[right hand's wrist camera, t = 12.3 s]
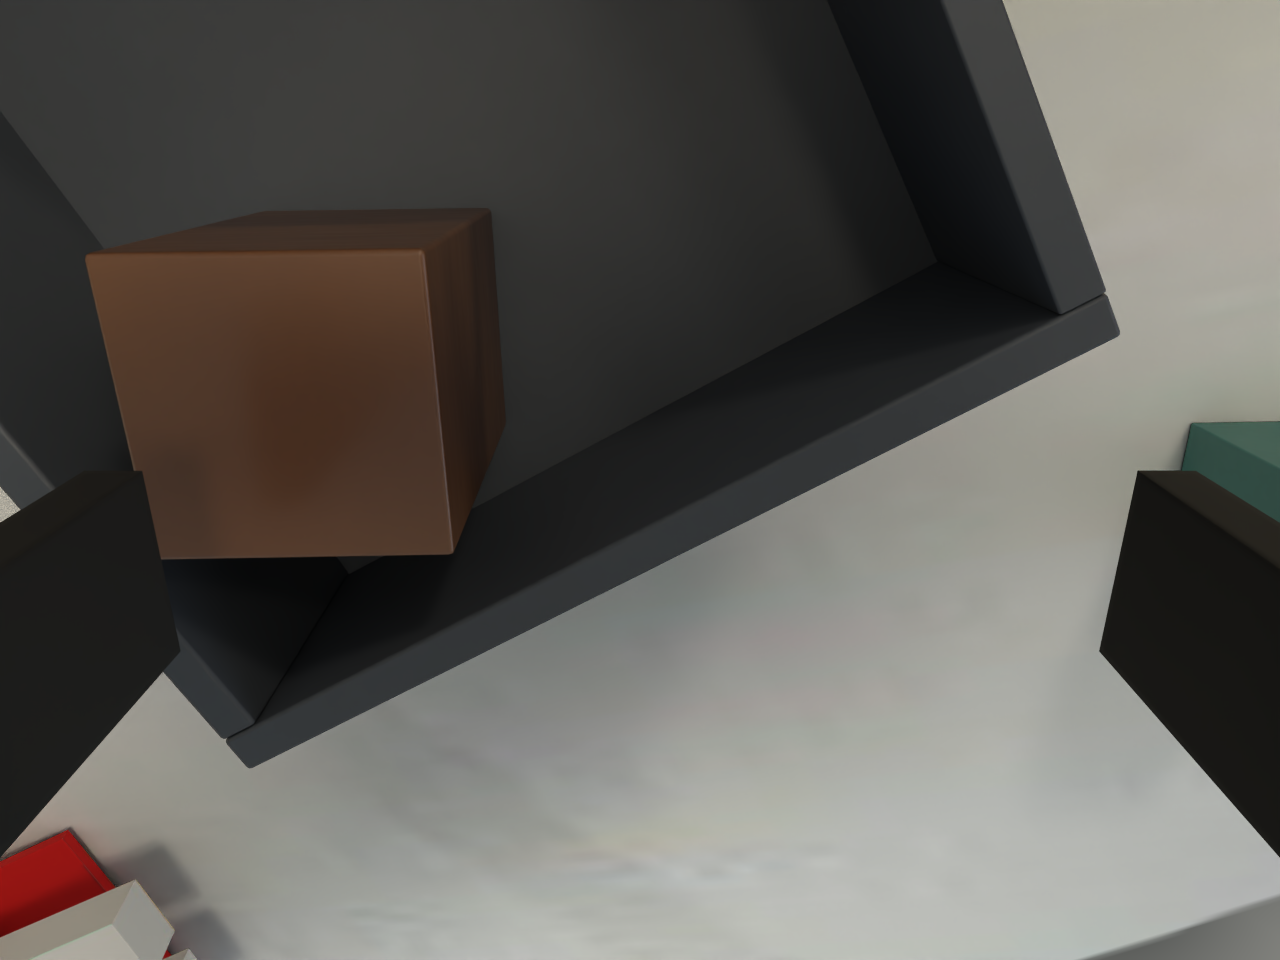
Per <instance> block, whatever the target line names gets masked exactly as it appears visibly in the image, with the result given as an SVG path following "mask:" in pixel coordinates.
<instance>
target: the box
mask: <svg viewBox="0 0 1280 960" xmlns="http://www.w3.org/2000/svg"><path fill="white" fill-rule="evenodd" d="M442 208H488V209H490V211H491V217H492V232H493V246H494V260H495V274H496V289H497V303H498V317H499V331H500V346H501V360H502V374H503V388H504V403H505V417H506V425H505V427H504V430H503V432H502V435H501V437H500V440H499V442H498V445H497V447H496V449H495V452H494V454H493V457H492V459H491V462H490V464H489V467H488V469H487V472H486V474H485V477H484V479H483V481H482V484H481V486H480V489H479V491H478V494H477V496H476V499H475V501H474V504H473V506H472V509H471V511H470V513H469V516H468V518H467V521H466V523H465V526H464V528H463V531H462V533H461V536H460V538H459V541H458V543H457V545H456V548H455V550H454V553H452V554H449V555H392V556H334V557H276V558H218V559H161V561H162V566H163V571H164V575H165V580H166V585H167V589H168V594H169V599H170V603H171V608H172V613H173V617H174V622H175V627H176V631H177V636H178V641H179V646H180V650H181V651H180V653H179V654H178V655H177V656H176V657H175V658H174V659H173V661H172V662H171V663H170V664H169V665H168V666H167V667H166V669H165V670H164V671H163V672H164V673H165V674H166V676H167V677H168V678H169V679H170V680H171V681H172V682H173V683H174V685H175V686H176V687H177V688H178V689H179V690H180V691H181V693H182V694H183V695H184V696H185V697H186V698H187V699H188V701H189V702H190V703H191V704H192V705H193V706H194V707H195V709H196V710H197V711H198V712H199V713H200V714H201V715H202V716H203V718H204V719H205V720H206V721H207V722H208V723H209V724H210V726H211V727H212V728H213V729H214V730H215V731H216V732H217V734H218V735H219V736H220V737H221V738H223V739H225V738H227V739H226V743H227V745H228V746H229V747H230V748H231V749H232V750H233V752H234V753H235V754H236V755H237V756H238V757H239V758H240V760H241V761H242V762H243V763H244V764H245V765H246V766H247V767H248V768H253V767H255V766H257V765H259V764H261V763H263V762H265V761H267V760H269V759H271V758H273V757H275V756H277V755H279V754H281V753H283V752H285V751H287V750H289V749H291V748H293V747H295V746H297V745H299V744H301V743H303V742H305V741H307V740H309V739H311V738H313V737H315V736H317V735H319V734H321V733H323V732H325V731H327V730H329V729H331V728H333V727H335V726H337V725H339V724H341V723H343V722H345V721H347V720H349V719H351V718H353V717H355V716H357V715H359V714H361V713H363V712H365V711H367V710H369V709H371V708H373V707H375V706H377V705H379V704H381V703H383V702H385V701H387V700H389V699H391V698H393V697H395V696H397V695H399V694H401V693H403V692H405V691H407V690H409V689H411V688H413V687H415V686H417V685H419V684H421V683H423V682H426V681H428V680H430V679H432V678H434V677H436V676H438V675H440V674H442V673H444V672H446V671H448V670H450V669H452V668H454V667H456V666H458V665H460V664H462V663H464V662H466V661H468V660H470V659H472V658H474V657H476V656H478V655H480V654H482V653H484V652H486V651H488V650H490V649H492V648H494V647H496V646H498V645H500V644H502V643H504V642H506V641H508V640H510V639H512V638H514V637H516V636H518V635H520V634H522V633H524V632H526V631H528V630H530V629H532V628H534V627H536V626H538V625H540V624H542V623H544V622H546V621H548V620H550V619H552V618H554V617H556V616H558V615H560V614H562V613H564V612H566V611H568V610H570V609H572V608H574V607H576V606H578V605H580V604H582V603H584V602H586V601H588V600H590V599H592V598H594V597H596V596H598V595H600V594H602V593H604V592H606V591H608V590H610V589H612V588H614V587H616V586H618V585H620V584H622V583H624V582H626V581H628V580H630V579H632V578H634V577H636V576H638V575H640V574H642V573H644V572H646V571H648V570H650V569H652V568H654V567H656V566H658V565H660V564H662V563H664V562H666V561H668V560H670V559H672V558H674V557H676V556H678V555H680V554H682V553H684V552H686V551H688V550H690V549H692V548H694V547H696V546H698V545H700V544H702V543H704V542H706V541H708V540H710V539H712V538H714V537H716V536H718V535H720V534H722V533H724V532H726V531H728V530H730V529H732V528H735V527H737V526H739V525H741V524H743V523H745V522H747V521H749V520H751V519H753V518H755V517H757V516H759V515H761V514H763V513H765V512H767V511H769V510H771V509H773V508H775V507H777V506H779V505H781V504H783V503H785V502H787V501H789V500H791V499H793V498H795V497H797V496H799V495H801V494H803V493H805V492H807V491H809V490H811V489H813V488H815V487H817V486H819V485H821V484H823V483H825V482H827V481H829V480H831V479H833V478H835V477H837V476H839V475H841V474H843V473H845V472H847V471H849V470H851V469H853V468H855V467H857V466H859V465H861V464H863V463H865V462H867V461H869V460H871V459H873V458H875V457H877V456H879V455H881V454H883V453H885V452H887V451H889V450H891V449H893V448H895V447H897V446H899V445H901V444H903V443H905V442H907V441H909V440H911V439H913V438H915V437H917V436H919V435H921V434H923V433H925V432H927V431H929V430H931V429H933V428H935V427H937V426H939V425H941V424H943V423H945V422H947V421H949V420H951V419H953V418H955V417H957V416H959V415H961V414H963V413H965V412H967V411H969V410H971V409H973V408H975V407H977V406H979V405H981V404H983V403H985V402H987V401H989V400H991V399H993V398H995V397H997V396H999V395H1001V394H1003V393H1005V392H1007V391H1009V390H1011V389H1013V388H1015V387H1017V386H1019V385H1021V384H1023V383H1025V382H1027V381H1029V380H1031V379H1033V378H1035V377H1037V376H1039V375H1041V374H1043V373H1046V372H1048V371H1050V370H1052V369H1054V368H1056V367H1058V366H1060V365H1062V364H1064V363H1066V362H1068V361H1070V360H1072V359H1074V358H1076V357H1078V356H1080V355H1082V354H1084V353H1086V352H1088V351H1090V350H1092V349H1094V348H1096V347H1098V346H1100V345H1102V344H1104V343H1106V342H1108V341H1110V340H1112V339H1114V338H1116V337H1117V336H1119V335H1120V330H1119V327H1118V325H1117V322H1116V319H1115V316H1114V313H1113V311H1112V308H1111V305H1110V302H1109V299H1108V297H1107V296H1106V295H1105V294H1104V292H1105V291H1106V289H1105V286H1104V283H1103V280H1102V278H1101V275H1100V272H1099V269H1098V266H1097V264H1096V261H1095V258H1094V255H1093V252H1092V250H1091V247H1090V244H1089V241H1088V239H1087V236H1086V233H1085V230H1084V227H1083V225H1082V222H1081V219H1080V216H1079V213H1078V211H1077V208H1076V205H1075V202H1074V199H1073V197H1072V194H1071V191H1070V188H1069V185H1068V183H1067V180H1066V177H1065V174H1064V172H1063V169H1062V166H1061V163H1060V160H1059V158H1058V155H1057V152H1056V149H1055V146H1054V144H1053V141H1052V138H1051V135H1050V132H1049V130H1048V127H1047V124H1046V121H1045V118H1044V116H1043V113H1042V110H1041V107H1040V105H1039V102H1038V99H1037V96H1036V93H1035V91H1034V88H1033V85H1032V82H1031V79H1030V77H1029V74H1028V71H1027V68H1026V65H1025V63H1024V60H1023V57H1022V54H1021V51H1020V49H1019V46H1018V43H1017V40H1016V38H1015V35H1014V32H1013V29H1012V26H1011V24H1010V21H1009V18H1008V15H1007V12H1006V10H1005V7H1004V4H1003V1H1002V0H0V487H1V488H2V489H3V490H4V491H5V492H6V494H7V495H8V496H9V497H10V498H11V499H12V500H13V502H14V503H15V504H16V505H17V506H18V507H19V508H20V510H22V509H23V508H25V507H26V506H28V505H30V504H31V503H33V502H34V501H36V500H38V499H39V498H41V497H43V496H44V495H46V494H47V493H49V492H51V491H52V490H54V489H55V488H57V487H59V486H60V485H62V484H64V483H65V482H67V481H68V480H70V479H72V478H73V477H75V476H76V475H78V474H80V473H81V472H83V471H134V469H133V465H132V461H131V456H130V452H129V448H128V444H127V439H126V435H125V431H124V426H123V422H122V418H121V413H120V409H119V405H118V401H117V396H116V392H115V388H114V383H113V379H112V375H111V370H110V366H109V362H108V357H107V353H106V349H105V345H104V340H103V336H102V332H101V327H100V323H99V319H98V314H97V310H96V306H95V301H94V297H93V293H92V289H91V284H90V280H89V276H88V271H87V267H86V263H85V256H86V255H87V254H89V253H91V252H95V251H99V250H103V249H107V248H112V247H116V246H120V245H124V244H128V243H132V242H137V241H141V240H145V239H149V238H153V237H158V236H162V235H166V234H170V233H174V232H179V231H183V230H187V229H191V228H195V227H199V226H204V225H208V224H212V223H216V222H220V221H225V220H229V219H233V218H237V217H241V216H246V215H250V214H254V213H258V212H262V211H303V210H373V209H442Z"/></svg>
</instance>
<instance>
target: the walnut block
mask: <svg viewBox="0 0 1280 960" xmlns="http://www.w3.org/2000/svg"><path fill="white" fill-rule="evenodd" d="M85 263H86V267H87V271H88V276H89V280H90V284H91V289H92V293H93V297H94V301H95V306H96V310H97V314H98V319H99V323H100V327H101V332H102V336H103V340H104V345H105V349H106V353H107V357H108V362H109V366H110V370H111V375H112V379H113V383H114V388H115V392H116V396H117V401H118V405H119V409H120V413H121V418H122V422H123V426H124V431H125V435H126V439H127V444H128V448H129V452H130V456H131V461H132V465H133V469H134V471H142V472H143V477H144V481H145V486H146V491H147V495H148V500H149V505H150V510H151V514H152V519H153V524H154V528H155V533H156V538H157V542H158V547H159V552H160V556H161V559H218V558H276V557H334V556H392V555H449V554H452V553H454V550H455V548H456V545H457V543H458V541H459V538H460V536H461V533H462V531H463V528H464V526H465V523H466V521H467V518H468V516H469V513H470V511H471V509H472V506H473V504H474V501H475V499H476V496H477V494H478V491H479V489H480V486H481V484H482V481H483V479H484V477H485V474H486V472H487V469H488V467H489V464H490V462H491V459H492V457H493V454H494V452H495V449H496V447H497V445H498V442H499V440H500V437H501V435H502V432H503V430H504V427H505V425H506V417H505V403H504V388H503V374H502V360H501V346H500V331H499V317H498V303H497V289H496V274H495V260H494V246H493V232H492V217H491V211H490V209H488V208H442V209H373V210H303V211H262V212H258V213H254V214H250V215H246V216H241V217H237V218H233V219H229V220H225V221H220V222H216V223H212V224H208V225H204V226H199V227H195V228H191V229H187V230H183V231H179V232H174V233H170V234H166V235H162V236H158V237H153V238H149V239H145V240H141V241H137V242H132V243H128V244H124V245H120V246H116V247H112V248H107V249H103V250H99V251H95V252H91V253H89V254H87V255H86V256H85Z"/></svg>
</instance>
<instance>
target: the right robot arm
mask: <svg viewBox="0 0 1280 960" xmlns="http://www.w3.org/2000/svg"><path fill="white" fill-rule="evenodd" d="M180 651H181V650H180V646H179V641H178V636H177V631H176V627H175V622H174V617H173V613H172V608H171V603H170V599H169V594H168V589H167V585H166V580H165V575H164V571H163V566H162V561H161V556H160V552H159V547H158V542H157V538H156V533H155V528H154V524H153V519H152V514H151V510H150V505H149V500H148V495H147V491H146V486H145V481H144V477H143V472H142V471H83V472H81V473H80V474H78V475H76V476H75V477H73V478H72V479H70V480H68V481H67V482H65V483H64V484H62V485H60V486H59V487H57V488H55V489H54V490H52V491H51V492H49V493H47V494H46V495H44V496H43V497H41V498H39V499H38V500H36V501H34V502H33V503H31V504H30V505H28V506H26V507H25V508H23V509H22V510H20V511H18V512H17V513H15V514H13V515H12V516H10V517H9V518H7V519H5V520H4V521H2V522H1V523H0V857H1V856H2V855H3V854H4V853H5V851H6V850H7V849H8V848H9V847H10V846H11V845H12V843H13V842H14V841H15V840H16V839H17V838H18V837H19V835H20V834H21V833H22V832H23V831H24V830H25V829H26V827H27V826H28V825H29V824H30V823H31V822H32V821H33V819H34V818H35V817H36V816H37V815H38V814H39V813H40V811H41V810H42V809H43V808H44V807H45V806H46V805H47V803H48V802H49V801H50V800H51V799H52V798H53V797H54V795H55V794H56V793H57V792H58V791H59V790H60V789H61V787H62V786H63V785H64V784H65V783H66V782H67V781H68V779H69V778H70V777H71V776H72V775H73V774H74V773H75V771H76V770H77V769H78V768H79V767H80V766H81V765H82V763H83V762H84V761H85V760H86V759H87V758H88V757H89V755H90V754H91V753H92V752H93V751H94V750H95V749H96V747H97V746H98V745H99V744H100V743H101V742H102V741H103V739H104V738H105V737H106V736H107V735H108V734H109V733H110V731H111V730H112V729H113V728H114V727H115V726H116V725H117V723H118V722H119V721H120V720H121V719H122V718H123V717H124V715H125V714H126V713H127V712H128V711H129V710H130V709H131V707H132V706H133V705H134V704H135V703H136V702H137V701H138V699H139V698H140V697H141V696H142V695H143V694H144V693H145V691H146V690H147V689H148V688H149V687H150V686H151V685H152V683H153V682H154V681H155V680H156V679H157V678H158V677H159V675H160V674H161V673H162V672H163V671H164V670H165V669H166V667H167V666H168V665H169V664H170V663H171V662H172V661H173V659H174V658H175V657H176V656H177V655H178V654H179V653H180ZM1099 651H1100V653H1101V654H1102V655H1103V656H1104V657H1105V658H1106V659H1107V661H1108V662H1109V663H1110V664H1111V665H1112V666H1113V667H1114V669H1115V670H1116V671H1117V672H1118V673H1119V674H1120V675H1121V677H1122V678H1123V679H1124V680H1125V681H1126V682H1127V683H1128V685H1129V686H1130V687H1131V688H1132V689H1133V690H1134V691H1135V693H1136V694H1137V695H1138V696H1139V697H1140V698H1141V699H1142V701H1143V702H1144V703H1145V704H1146V705H1147V706H1148V707H1149V709H1150V710H1151V711H1152V712H1153V713H1154V714H1155V715H1156V717H1157V718H1158V719H1159V720H1160V721H1161V722H1162V723H1163V725H1164V726H1165V727H1166V728H1167V729H1168V730H1169V731H1170V733H1171V734H1172V735H1173V736H1174V737H1175V738H1176V739H1177V741H1178V742H1179V743H1180V744H1181V745H1182V746H1183V747H1184V749H1185V750H1186V751H1187V752H1188V753H1189V754H1190V755H1191V757H1192V758H1193V759H1194V760H1195V761H1196V762H1197V763H1198V765H1199V766H1200V767H1201V768H1202V769H1203V770H1204V771H1205V773H1206V774H1207V775H1208V776H1209V777H1210V778H1211V779H1212V781H1213V782H1214V783H1215V784H1216V785H1217V786H1218V787H1219V789H1220V790H1221V791H1222V792H1223V793H1224V794H1225V795H1226V797H1227V798H1228V799H1229V800H1230V801H1231V802H1232V803H1233V805H1234V806H1235V807H1236V808H1237V809H1238V810H1239V811H1240V813H1241V814H1242V815H1243V816H1244V817H1245V818H1246V819H1247V821H1248V822H1249V823H1250V824H1251V825H1252V826H1253V827H1254V829H1255V830H1256V831H1257V832H1258V833H1259V834H1260V835H1261V837H1262V838H1263V839H1264V840H1265V841H1266V842H1267V843H1268V845H1269V846H1270V847H1271V848H1272V849H1273V850H1274V851H1275V853H1276V854H1277V855H1278V856H1279V857H1280V523H1279V522H1278V521H1276V520H1275V519H1273V518H1271V517H1270V516H1268V515H1267V514H1265V513H1263V512H1262V511H1260V510H1258V509H1257V508H1255V507H1254V506H1252V505H1250V504H1249V503H1247V502H1246V501H1244V500H1242V499H1241V498H1239V497H1237V496H1236V495H1234V494H1233V493H1231V492H1229V491H1228V490H1226V489H1225V488H1223V487H1221V486H1220V485H1218V484H1216V483H1215V482H1213V481H1212V480H1210V479H1208V478H1207V477H1205V476H1204V475H1202V474H1200V473H1199V472H1197V471H1138V472H1137V477H1136V481H1135V486H1134V491H1133V495H1132V500H1131V505H1130V510H1129V514H1128V519H1127V524H1126V528H1125V533H1124V538H1123V542H1122V547H1121V552H1120V556H1119V561H1118V566H1117V571H1116V575H1115V580H1114V585H1113V589H1112V594H1111V599H1110V603H1109V608H1108V613H1107V617H1106V622H1105V627H1104V631H1103V636H1102V641H1101V646H1100V650H1099Z"/></svg>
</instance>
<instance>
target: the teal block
mask: <svg viewBox="0 0 1280 960" xmlns="http://www.w3.org/2000/svg"><path fill="white" fill-rule="evenodd" d="M1182 471H1197V472H1199V473H1200V474H1202V475H1204V476H1205V477H1207V478H1208V479H1210V480H1212V481H1213V482H1215V483H1216V484H1218V485H1220V486H1221V487H1223V488H1225V489H1226V490H1228V491H1229V492H1231V493H1233V494H1234V495H1236V496H1237V497H1239V498H1241V499H1242V500H1244V501H1246V502H1247V503H1249V504H1250V505H1252V506H1254V507H1255V508H1257V509H1258V510H1260V511H1262V512H1263V513H1265V514H1267V515H1268V516H1270V517H1271V518H1273V519H1275V520H1276V521H1278V522H1279V523H1280V422H1228V423H1192V424H1191V429H1190V433H1189V438H1188V443H1187V447H1186V452H1185V457H1184V462H1183V466H1182Z"/></svg>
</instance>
